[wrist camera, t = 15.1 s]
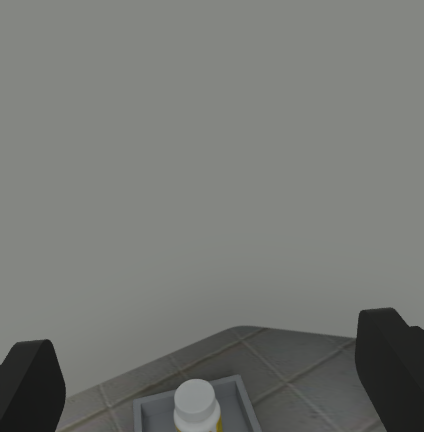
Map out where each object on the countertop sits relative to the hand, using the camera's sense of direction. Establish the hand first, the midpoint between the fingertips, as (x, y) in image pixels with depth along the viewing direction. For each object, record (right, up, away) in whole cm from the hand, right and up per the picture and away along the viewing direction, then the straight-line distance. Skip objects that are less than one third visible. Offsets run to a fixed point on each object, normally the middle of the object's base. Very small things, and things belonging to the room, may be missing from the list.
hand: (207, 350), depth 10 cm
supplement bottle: (-1, -22, +30) cm, 37 cm away
